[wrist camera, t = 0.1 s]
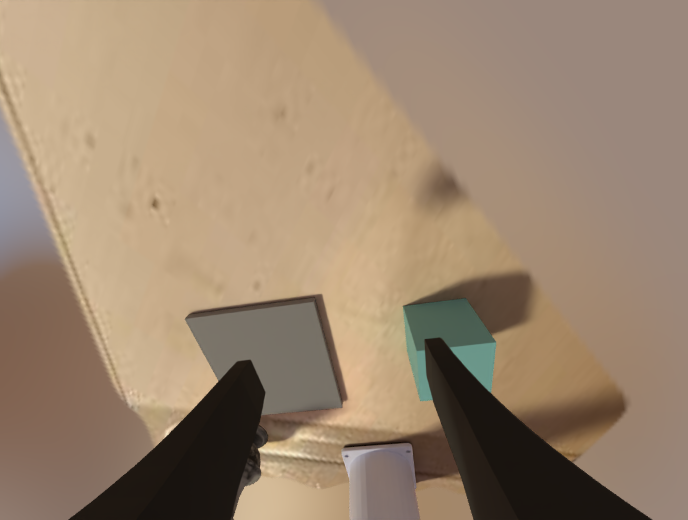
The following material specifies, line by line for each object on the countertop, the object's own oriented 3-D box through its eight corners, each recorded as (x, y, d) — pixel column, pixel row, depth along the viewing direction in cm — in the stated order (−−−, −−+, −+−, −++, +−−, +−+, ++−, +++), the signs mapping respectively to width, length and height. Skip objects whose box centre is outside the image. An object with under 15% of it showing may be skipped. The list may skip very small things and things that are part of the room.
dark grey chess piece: (248, 412, 28) (184, 587, 17) (280, 441, 30) (242, 613, 19) (207, 428, 29) (124, 599, 19) (241, 454, 32) (184, 622, 21)
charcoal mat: (342, 402, 27) (342, 407, 26) (240, 411, 28) (238, 417, 27) (314, 297, 21) (313, 301, 21) (188, 314, 22) (184, 318, 22)
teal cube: (463, 344, 23) (490, 394, 19) (407, 350, 24) (420, 401, 19) (465, 297, 21) (496, 342, 17) (402, 305, 22) (416, 351, 17)
